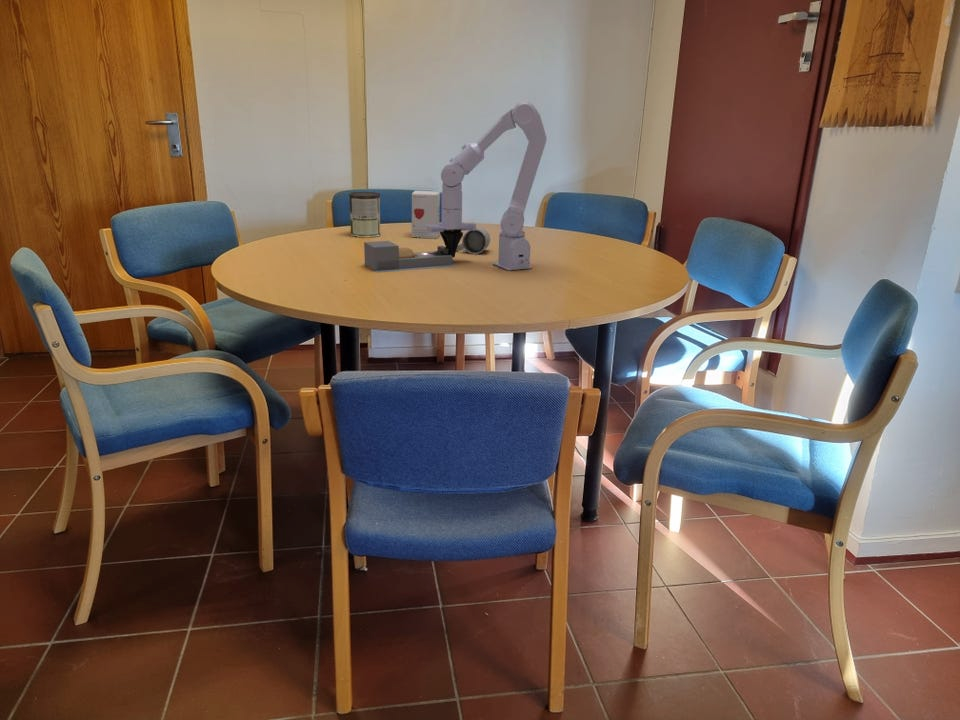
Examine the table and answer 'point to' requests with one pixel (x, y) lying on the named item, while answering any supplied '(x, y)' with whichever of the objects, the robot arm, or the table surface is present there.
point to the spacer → (405, 253)
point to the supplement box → (425, 213)
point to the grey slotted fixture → (387, 259)
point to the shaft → (439, 252)
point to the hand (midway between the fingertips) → (451, 256)
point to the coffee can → (365, 214)
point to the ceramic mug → (475, 241)
